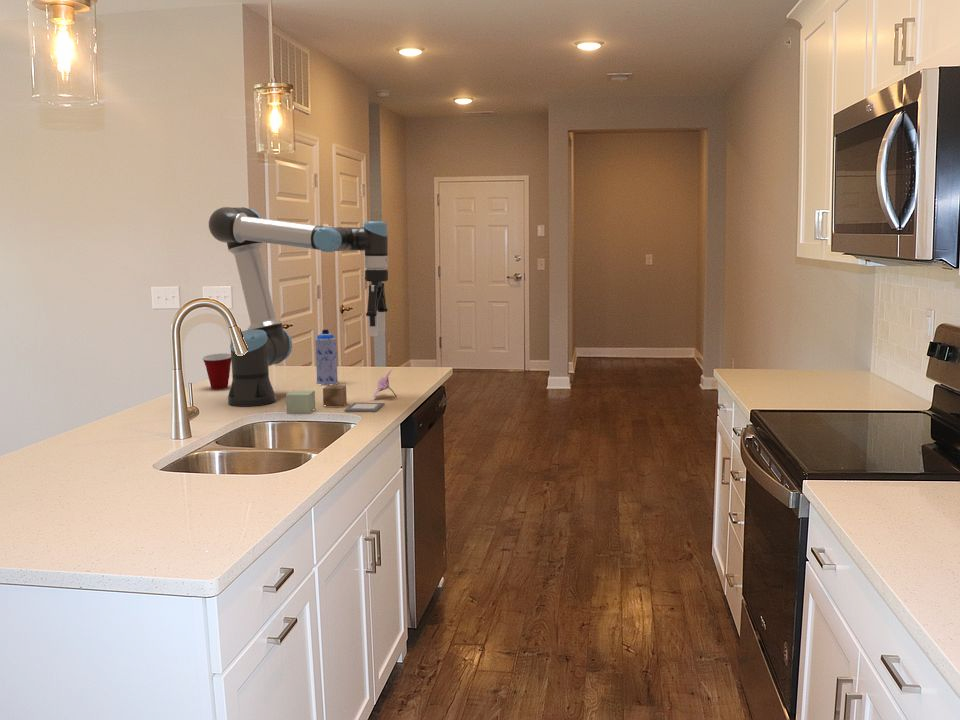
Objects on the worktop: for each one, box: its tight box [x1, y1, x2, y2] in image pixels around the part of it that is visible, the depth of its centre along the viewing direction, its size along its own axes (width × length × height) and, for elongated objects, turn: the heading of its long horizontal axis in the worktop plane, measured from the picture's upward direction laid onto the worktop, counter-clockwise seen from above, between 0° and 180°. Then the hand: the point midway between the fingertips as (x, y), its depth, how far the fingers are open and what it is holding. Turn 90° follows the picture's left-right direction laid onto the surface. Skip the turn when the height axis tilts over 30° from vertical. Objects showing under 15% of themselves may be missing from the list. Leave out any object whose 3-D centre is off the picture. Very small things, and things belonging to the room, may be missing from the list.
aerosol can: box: [315, 328, 339, 386], centre depth 327 cm, size 8×8×20 cm
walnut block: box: [322, 384, 348, 407], centre depth 287 cm, size 6×6×6 cm
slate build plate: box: [344, 402, 385, 413], centre depth 281 cm, size 10×12×1 cm
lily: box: [373, 369, 397, 400], centre depth 299 cm, size 12×12×10 cm
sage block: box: [285, 390, 316, 415], centre depth 277 cm, size 7×7×6 cm
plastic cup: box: [201, 352, 232, 390], centre depth 320 cm, size 11×11×12 cm
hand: (377, 333), depth 293 cm, fingers open, 13 cm apart
